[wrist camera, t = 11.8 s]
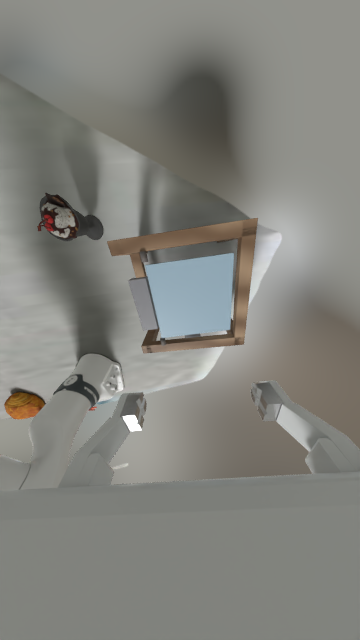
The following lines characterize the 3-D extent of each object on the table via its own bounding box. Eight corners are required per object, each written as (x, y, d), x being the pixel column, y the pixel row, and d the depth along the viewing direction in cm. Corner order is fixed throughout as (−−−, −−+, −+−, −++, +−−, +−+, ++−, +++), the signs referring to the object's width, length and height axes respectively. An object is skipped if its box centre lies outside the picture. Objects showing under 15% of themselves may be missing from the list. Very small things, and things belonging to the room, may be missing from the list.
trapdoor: (226, 323, 29) (230, 329, 27) (147, 333, 30) (145, 340, 28) (228, 252, 23) (233, 252, 21) (128, 267, 24) (123, 268, 21)
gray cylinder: (199, 337, 47) (201, 346, 43) (185, 338, 48) (186, 348, 43) (199, 325, 45) (200, 333, 41) (184, 326, 45) (184, 335, 41)
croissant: (25, 403, 71) (8, 421, 65) (9, 388, 62) (-12, 407, 56) (53, 407, 72) (39, 425, 65) (41, 393, 63) (24, 413, 56)
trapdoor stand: (223, 313, 43) (244, 345, 28) (156, 320, 44) (143, 355, 30) (225, 232, 33) (259, 216, 18) (138, 245, 34) (105, 241, 20)
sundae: (93, 249, 35) (39, 248, 22) (73, 221, 32) (-4, 201, 19) (112, 234, 33) (66, 223, 20) (92, 204, 31) (24, 169, 17)
